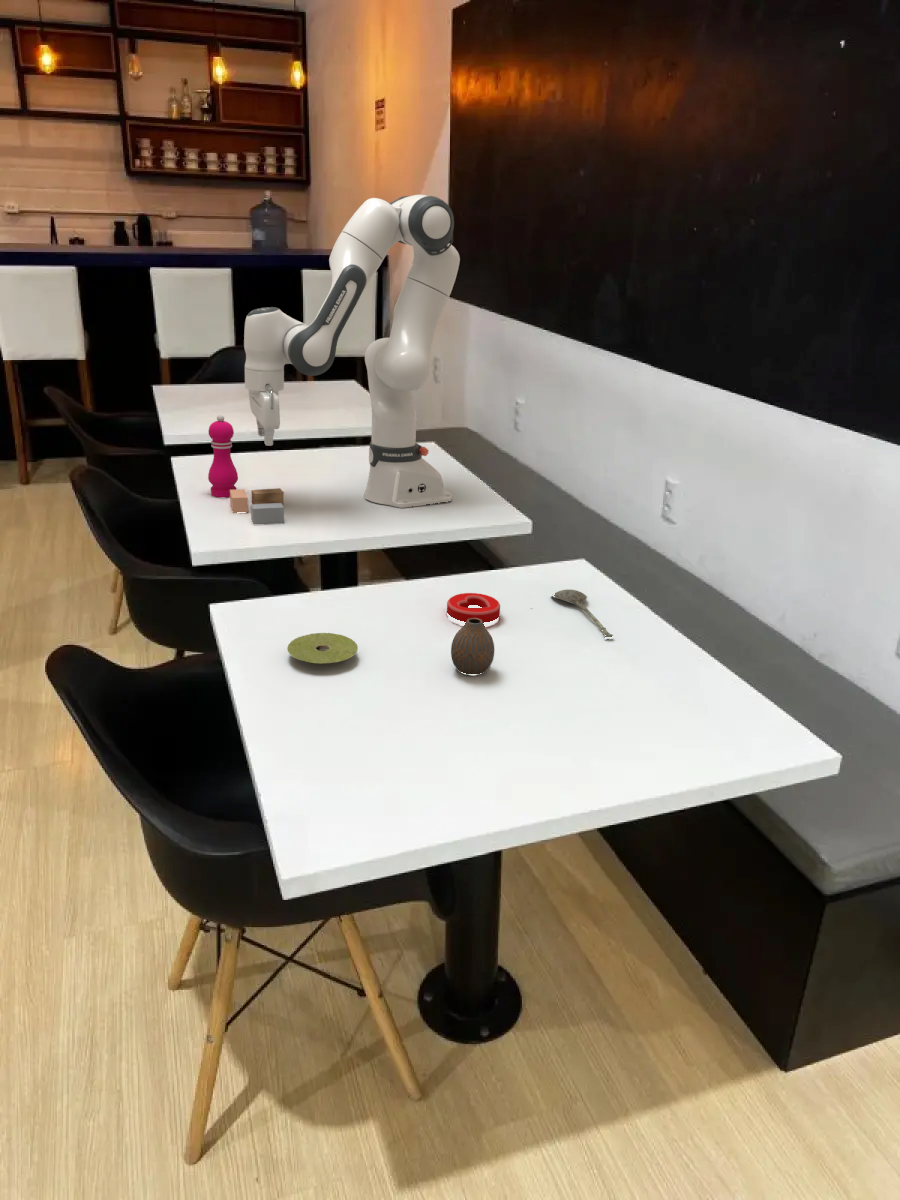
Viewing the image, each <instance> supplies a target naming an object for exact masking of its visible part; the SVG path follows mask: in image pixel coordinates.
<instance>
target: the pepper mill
mask: <svg viewBox="0 0 900 1200" xmlns="http://www.w3.org/2000/svg"><path fill="white" fill-rule="evenodd" d="M234 433H235V430H234V427H233V425H232V424H231V423H230V422H228V421H225V416H224V415H223V414H218V415H217V416H216V421H213V422H212V423H211V424H210V425H209V427H208V436H209V437H210V439H211V441H210V442H211V448H212V449H213V459H212V462H211V465H210V467H209V470H208V474H207V475H208V476H207V477H208V479H207V480H208V482H209V483H210V484H211V485H212V486H211V487H210V494H211V495H210V496H212V497H214V496H215V498H220V497H226V498H230V490H237V487H236V486H235V485H236V483H237V482H238V480H239V476H238V475H239V474H238V471H237V469H236V466H235V464H234V462H233V459H232V457H231V455H232V454H231V448H232V447H233V444H232V443H233V441H232V438H233V437H234Z"/></svg>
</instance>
